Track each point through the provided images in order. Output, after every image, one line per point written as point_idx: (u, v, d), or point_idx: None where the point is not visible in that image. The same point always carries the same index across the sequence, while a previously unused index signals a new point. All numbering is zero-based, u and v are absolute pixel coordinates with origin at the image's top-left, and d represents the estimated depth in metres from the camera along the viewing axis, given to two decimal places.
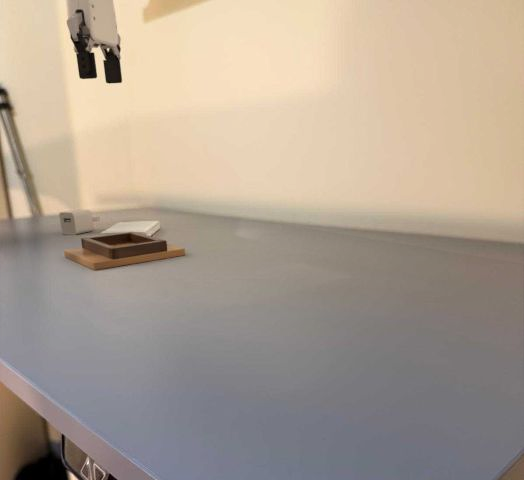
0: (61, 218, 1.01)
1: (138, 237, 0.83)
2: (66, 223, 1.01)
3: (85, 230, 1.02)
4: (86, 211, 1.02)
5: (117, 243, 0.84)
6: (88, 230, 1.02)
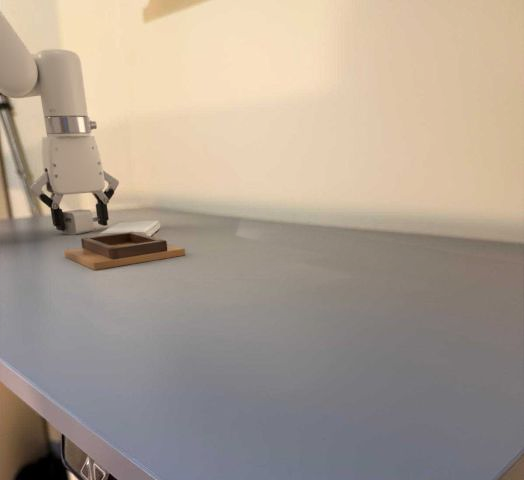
0: None
1: (138, 237, 0.83)
2: (66, 223, 1.01)
3: (85, 230, 1.02)
4: (86, 211, 1.02)
5: (117, 243, 0.84)
6: (88, 230, 1.02)
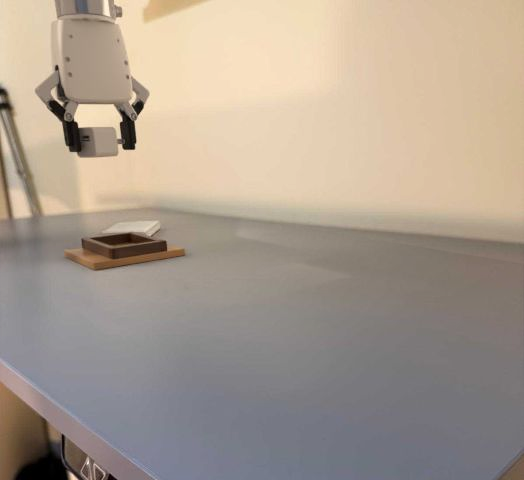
0: None
1: (138, 237, 0.83)
2: (83, 142, 0.76)
3: (108, 153, 0.78)
4: (109, 128, 0.77)
5: (117, 243, 0.84)
6: (111, 154, 0.78)
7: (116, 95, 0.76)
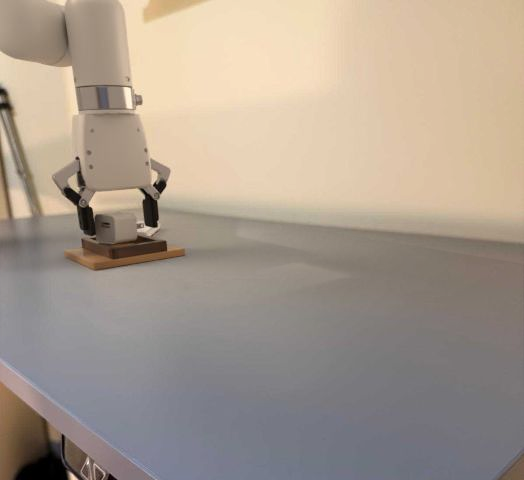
0: (97, 222, 0.77)
1: (138, 237, 0.83)
2: (103, 229, 0.77)
3: (127, 239, 0.78)
4: (129, 215, 0.78)
5: (117, 243, 0.84)
6: (130, 239, 0.79)
7: (136, 182, 0.77)
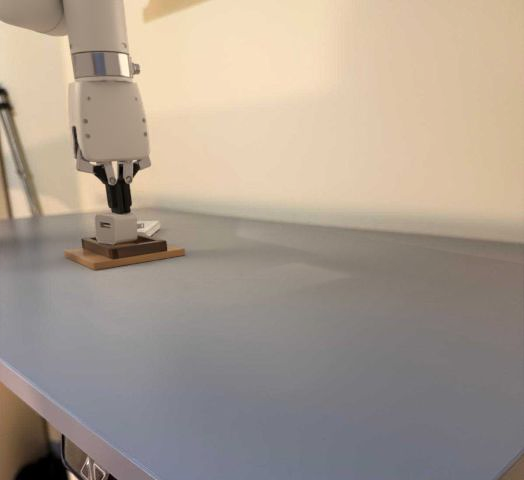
0: (97, 222, 0.77)
1: (138, 237, 0.83)
2: (103, 229, 0.77)
3: (127, 239, 0.78)
4: (130, 215, 0.78)
5: None
6: (130, 240, 0.79)
7: (134, 153, 0.75)
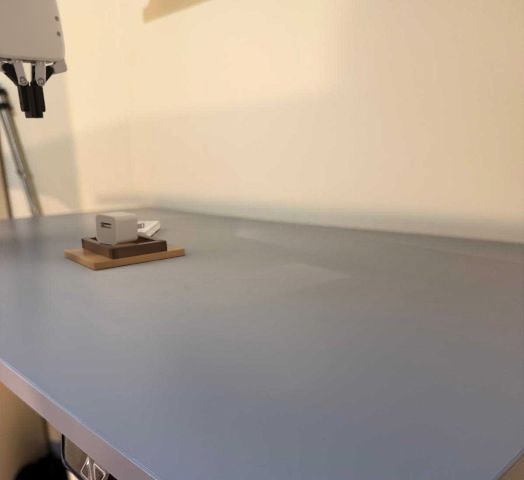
0: (98, 222, 0.77)
1: (138, 237, 0.83)
2: (104, 229, 0.77)
3: (127, 240, 0.78)
4: (131, 215, 0.78)
5: None
6: (130, 240, 0.79)
7: (46, 53, 0.72)
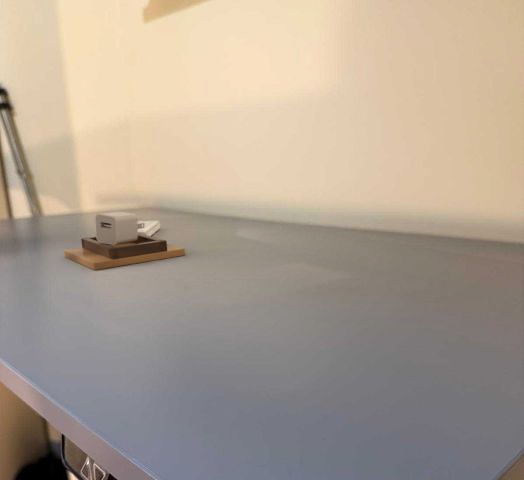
0: (98, 222, 0.77)
1: (138, 237, 0.83)
2: (104, 229, 0.77)
3: (127, 240, 0.78)
4: (131, 215, 0.78)
5: None
6: (130, 240, 0.79)
7: None
